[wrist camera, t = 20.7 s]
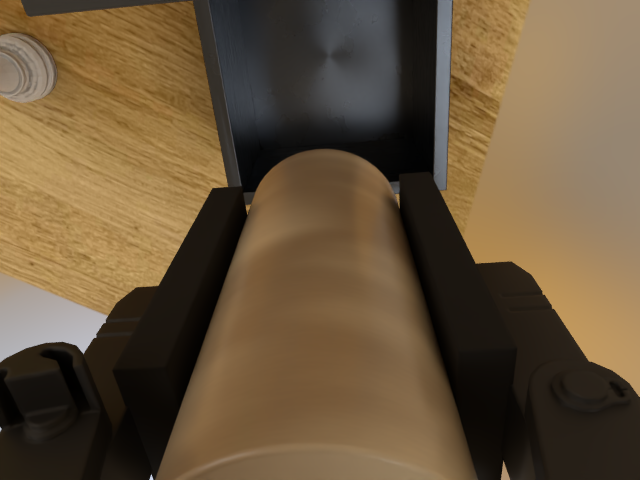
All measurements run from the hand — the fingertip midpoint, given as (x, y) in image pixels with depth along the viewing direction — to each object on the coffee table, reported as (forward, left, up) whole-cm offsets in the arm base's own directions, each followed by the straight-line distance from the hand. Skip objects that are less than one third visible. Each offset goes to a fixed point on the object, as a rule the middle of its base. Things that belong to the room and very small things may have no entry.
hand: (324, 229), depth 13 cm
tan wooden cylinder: (0, 0, -1) cm, 1 cm away
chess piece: (+21, -2, -24) cm, 32 cm away
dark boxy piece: (0, -1, -24) cm, 24 cm away
